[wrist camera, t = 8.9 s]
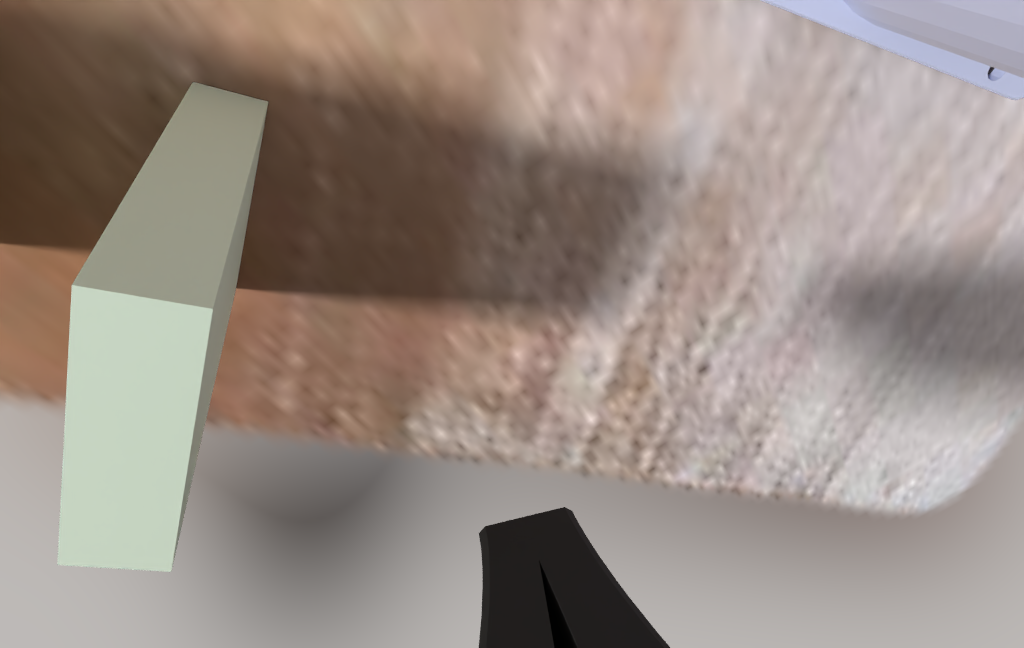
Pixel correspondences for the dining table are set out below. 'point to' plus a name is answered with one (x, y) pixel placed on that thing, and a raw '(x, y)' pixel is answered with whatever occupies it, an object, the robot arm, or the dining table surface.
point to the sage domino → (155, 335)
